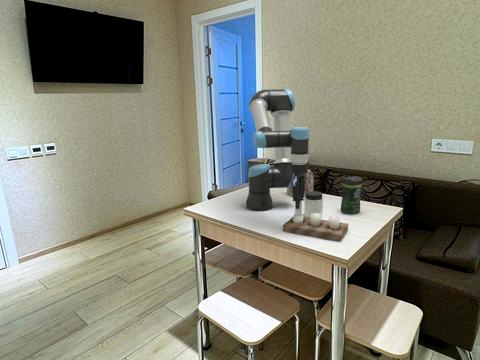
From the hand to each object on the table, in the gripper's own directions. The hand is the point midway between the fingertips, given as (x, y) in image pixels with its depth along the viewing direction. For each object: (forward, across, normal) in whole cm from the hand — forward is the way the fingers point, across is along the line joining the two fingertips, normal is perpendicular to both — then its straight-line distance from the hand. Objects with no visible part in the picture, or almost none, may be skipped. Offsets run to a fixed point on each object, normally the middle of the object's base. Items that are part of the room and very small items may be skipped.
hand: (298, 214), depth 143 cm
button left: (+5, 0, 0) cm, 5 cm away
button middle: (+4, 0, -8) cm, 9 cm away
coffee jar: (+6, +33, -16) cm, 38 cm away
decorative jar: (+6, +52, +18) cm, 55 cm away
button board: (+6, 0, -8) cm, 10 cm away
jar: (+6, +18, -1) cm, 19 cm away
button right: (+4, 0, -16) cm, 16 cm away
